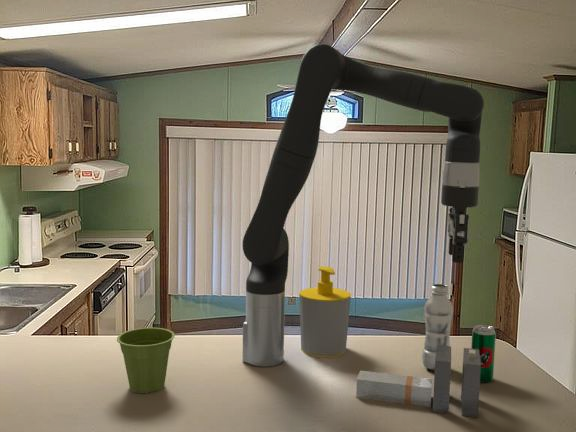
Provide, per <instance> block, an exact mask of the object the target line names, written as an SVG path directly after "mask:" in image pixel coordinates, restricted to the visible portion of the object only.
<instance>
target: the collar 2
mask: <svg viewBox="0 0 576 432" xmlns="http://www.w3.org/2000/svg"><path fill="white" fill-rule="evenodd" d="M480 371H481V362H480V354H479V349H471V347H469V348H467V347H463V355H462V371H461V372H462V373H461V391H460V392H461V393H460V399H461V400H462V401H461V416H462V417H463V416H464V417H471V418H479V402H480V401H479V400H480V383H481V382H480Z"/></svg>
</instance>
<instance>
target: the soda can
mask: <svg viewBox="0 0 576 432" xmlns="http://www.w3.org/2000/svg"><path fill="white" fill-rule="evenodd" d="M496 337H497V334H496V331H495V327H494V326H491V325H488V324H487V325H486V324H476V325H474V326H473V329H472V332H471V343H470V344H471V346H470V349H479V354H480V362H481V371H480V383H489V382H491V381H492V380H493V379H494V371H495V352H496V340H497V339H496Z"/></svg>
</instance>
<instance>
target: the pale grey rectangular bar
mask: <svg viewBox="0 0 576 432" xmlns="http://www.w3.org/2000/svg"><path fill="white" fill-rule="evenodd" d="M432 389H433V378H428V377H421V376H420V377H418V376H410V375H401V374H393V373H385V372H375V371H369V370H368V371H367V370H360V371H359V373H358V375H357V378H356V394H355V396H356V397H355V398H358V399H364V400H365V399H366V400H371V401H372V400H375V401H382V402H390V403H398V404H404V405H412V406H419V407H428V408H431V404H432V394H433V391H432Z"/></svg>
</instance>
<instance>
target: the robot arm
mask: <svg viewBox="0 0 576 432" xmlns="http://www.w3.org/2000/svg"><path fill="white" fill-rule="evenodd" d="M332 90H334V91H347V92H353V93H359V94H362V95H367V96H371V97H374V98H376V99H380V100H382V101H386V102H387V103H388V102H389V103H392V104H396V105H398V106H401V107H405V108H408V109H413V110H415V111H420V112H426V113H433V114H436V115H440V116H443V117H446V118H448V121H447V122H448V123H447V124H448V125H447V126H448V127H447V129H448V130H447V131H448V133H447V134H448V135H447V139H446V144H445V158H444V166H443V172H442V185H441V197H440V198H441V199H440V200H441V201H440V203H441V204H442V206H445V207H449V208H448V209H449V213H448V215H447V222H448V223H447V232H448V235H447V236H448V238H449V239H448V255H450V256H451V258H452V259H451V261H452V262H453V263H455V264H456V263H457V264H458V263H459V264H463V262H464V257H465V246H466V245H467V242H468V233H469V229H468V228H469V221H470V217H469V214H467V208H476V207H477V206H478V202H479V190H480V189H479V188H480V158H481V157H480V156H481V155H480V154H481V140H480V139H481V138H480V134H481V124H482V115H483V110H484V106H485V103H484V101H485V100H484V97H483V95H482V94H481V92H480V91H478V90H477V89H475V88H474V87H469V86H466V85H462V84H457V83H451V82H446V81H445V82H444V81H440V80H436V79H433V78H430V77H426V76H422V75H418V74H416V73H410V72H406V71H403V70H396V69H387V68H382V67H378V66H377V67H376V66H372V65H368V64H366V63H362V62H359V61H357V60H355V59H352V58H351V57H348V56H346V55H344V54H342V53H341V52H340V51H339V50H337V49H336V48H334V47H333V46H331V45H329V44H327V43H317V44H315V45H313V46H311V47H310V48H309V49H307V50H306V51H305V53H304V54H303V56H302V59H301V61H300V65H299V69H298V75H297V78H296V83H295V87H294V91H293V92H294V93H293V97H292V101H291V104H290V106H289V108H288V111H287V114H286V116H285V119H284V122H283V124H282V128H281V130H280V134H279V136H278V139H277V141H276V145H275V147H274V150H273V154H272V157H271V159H270V162H269V163H270V164H269V167H268V170H267V173H266V176H265V179H264V184H263V186H262V190H261V194H260V198H259V201H258V203H257V206H256V208H255V211H254V213H253V215H252V217H251V220H250V222H249V225H248V226H247V227H246V230H245V232H244V235H243V237H242V251H243V255H244V256H245V258H246V260H247V261H249V262H250V263H251V264H250V269H249V274H248V276H247V278H246V282H245V321H244V322H243V323H242V362H243V363H247V364H249V365H252V366H257V367H273V366H277V365H280V364H282V363H283V362H284V358H285V357H284V355H285V313H286V312H285V310H286V309H285V306H286V305H285V303H286V302H285V301H286V300H285V299H286V281H287V279H288V278H287V277H288V274H289V256H290V254H289V253H290V252H289V251H290V249H289V248H290V245H289V244H290V243H289V242H290V241H289V236H288V234H287V231H286V229H285V228H284V227H285V223H286V221H287V217H288V215H289V212H290V210H291V208H292V206H293V205H294V202H295V201H296V199H297V198H298V197H299V194H300V192H301V191H302V190H303V188H304V186H305V184H306V182H307V180H308V177H309V175H310V173H311V170H312V167H313V164H314V161H315V158H316V156H317V152H318V151H317V150H318V147H319V141H320V134H321V133H320V131H321V123H322V116H323V112H324V110H325V106H326V104H327V102H328V99H329V97H330V94H331V91H332Z"/></svg>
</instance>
